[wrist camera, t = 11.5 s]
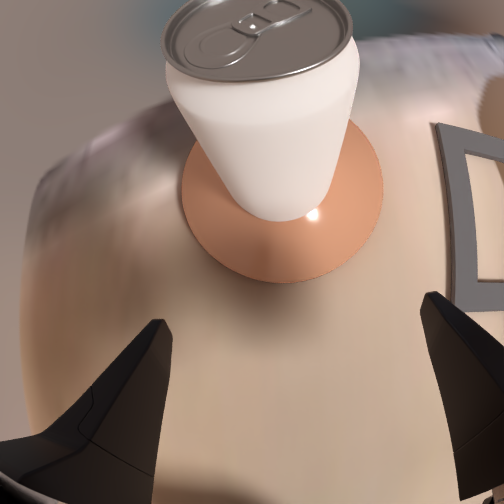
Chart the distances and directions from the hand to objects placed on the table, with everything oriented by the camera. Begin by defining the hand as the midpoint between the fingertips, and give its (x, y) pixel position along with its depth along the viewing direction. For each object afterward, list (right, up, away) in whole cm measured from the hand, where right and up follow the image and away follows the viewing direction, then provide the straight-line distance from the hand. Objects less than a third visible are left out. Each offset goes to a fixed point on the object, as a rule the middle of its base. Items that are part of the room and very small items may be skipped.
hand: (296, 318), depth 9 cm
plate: (+1, +7, +10) cm, 12 cm away
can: (0, +7, +9) cm, 11 cm away
